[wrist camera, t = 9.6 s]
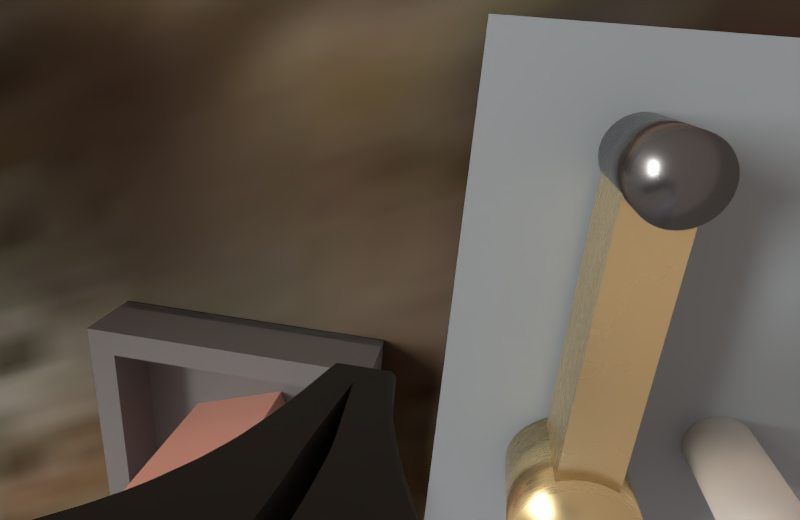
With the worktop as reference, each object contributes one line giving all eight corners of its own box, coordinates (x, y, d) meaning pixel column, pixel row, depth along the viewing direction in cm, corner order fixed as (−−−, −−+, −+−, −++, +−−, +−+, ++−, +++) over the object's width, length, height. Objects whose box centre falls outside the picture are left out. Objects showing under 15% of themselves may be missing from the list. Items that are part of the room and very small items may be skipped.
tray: (367, 545, 26) (354, 594, 23) (149, 502, 27) (117, 544, 25) (383, 340, 22) (370, 374, 19) (127, 301, 23) (87, 328, 21)
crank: (609, 519, 21) (635, 624, 17) (497, 498, 22) (497, 596, 18) (725, 118, 16) (802, 138, 12) (571, 103, 16) (596, 118, 12)
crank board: (866, 589, 22) (959, 723, 18) (426, 506, 24) (411, 607, 20) (1149, 67, 15) (1428, 72, 10) (489, 15, 17) (487, 1, 13)
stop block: (310, 468, 24) (254, 593, 18) (229, 477, 25) (153, 598, 19) (281, 391, 23) (212, 499, 17) (197, 403, 24) (107, 509, 18)
